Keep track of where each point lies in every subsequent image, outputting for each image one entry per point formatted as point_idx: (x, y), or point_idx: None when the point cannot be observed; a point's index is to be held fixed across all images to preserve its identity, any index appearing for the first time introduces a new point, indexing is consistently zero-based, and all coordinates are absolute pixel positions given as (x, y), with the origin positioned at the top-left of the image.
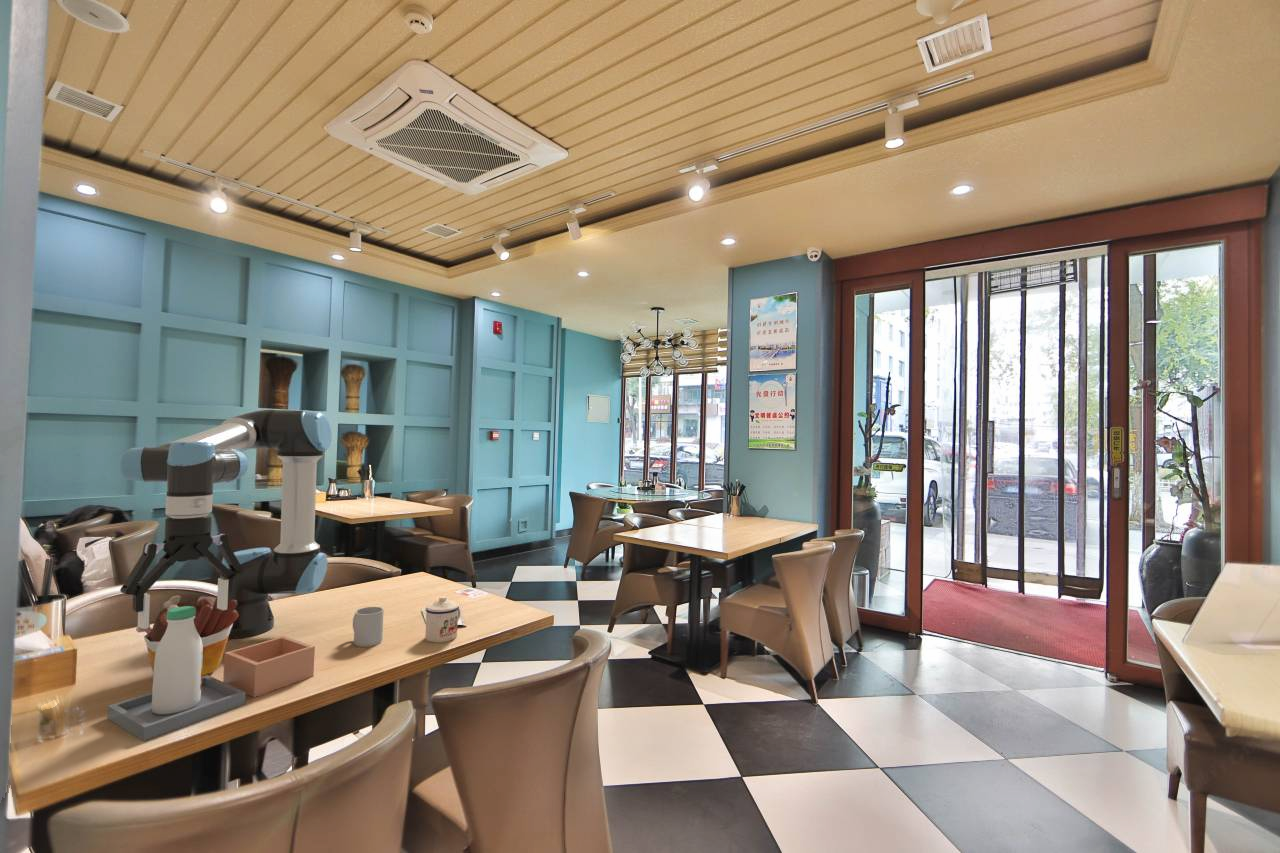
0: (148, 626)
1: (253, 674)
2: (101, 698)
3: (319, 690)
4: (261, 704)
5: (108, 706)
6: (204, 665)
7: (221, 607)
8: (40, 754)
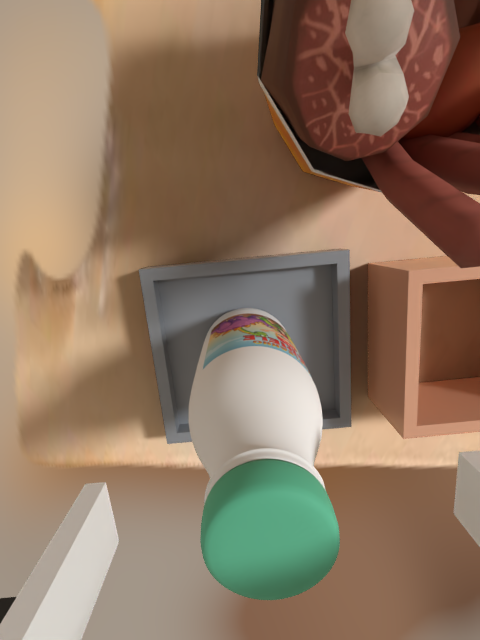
0: (116, 547)
1: (390, 416)
2: (157, 112)
3: (456, 461)
4: (359, 437)
5: (139, 271)
6: (370, 182)
7: (463, 506)
8: (40, 345)
